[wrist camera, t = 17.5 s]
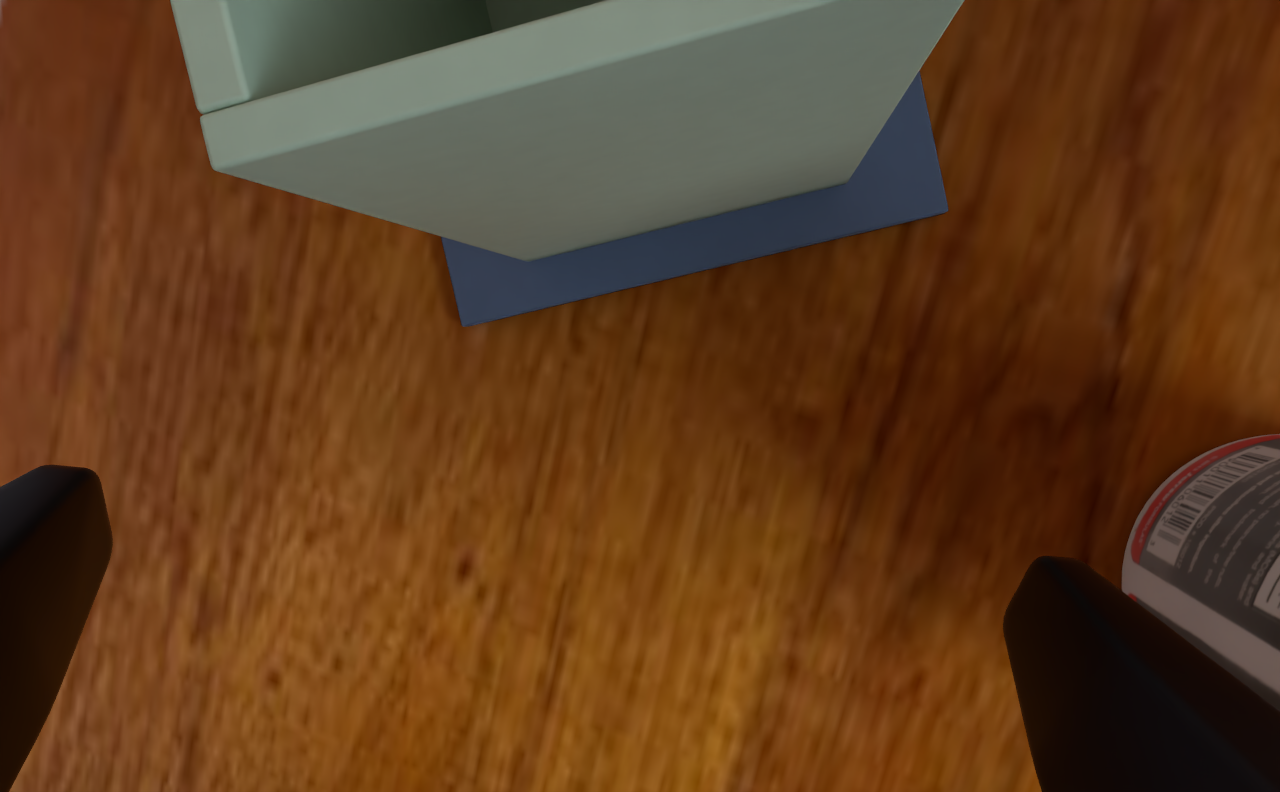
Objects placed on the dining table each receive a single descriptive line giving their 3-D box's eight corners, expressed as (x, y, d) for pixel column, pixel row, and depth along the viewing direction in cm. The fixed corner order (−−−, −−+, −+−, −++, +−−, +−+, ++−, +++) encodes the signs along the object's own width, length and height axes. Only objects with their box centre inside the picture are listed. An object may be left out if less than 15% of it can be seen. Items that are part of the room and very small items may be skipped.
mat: (944, 213, 18) (949, 210, 18) (467, 327, 19) (461, 327, 19) (838, -299, 18) (839, -313, 17) (356, -146, 19) (347, -156, 19)
